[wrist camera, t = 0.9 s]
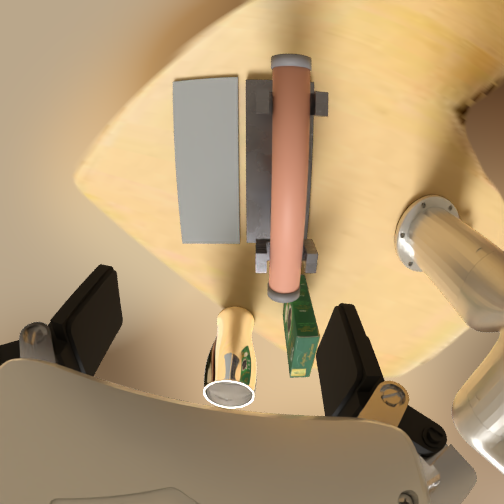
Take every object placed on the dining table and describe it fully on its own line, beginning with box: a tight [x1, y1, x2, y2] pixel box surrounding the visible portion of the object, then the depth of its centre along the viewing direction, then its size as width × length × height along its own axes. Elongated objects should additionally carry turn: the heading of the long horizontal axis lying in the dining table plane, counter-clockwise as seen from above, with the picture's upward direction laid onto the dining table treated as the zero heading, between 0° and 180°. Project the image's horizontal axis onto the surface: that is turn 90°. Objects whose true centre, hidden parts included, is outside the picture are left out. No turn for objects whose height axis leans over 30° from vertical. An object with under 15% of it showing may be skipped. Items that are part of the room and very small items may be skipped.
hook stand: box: [246, 80, 328, 273], centre depth 28 cm, size 8×21×13 cm, turn 0°
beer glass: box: [203, 307, 257, 408], centre depth 39 cm, size 7×7×15 cm
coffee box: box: [283, 274, 320, 378], centre depth 37 cm, size 8×3×13 cm, turn 179°
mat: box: [173, 77, 240, 244], centre depth 34 cm, size 8×22×1 cm, turn 0°
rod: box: [268, 54, 311, 303], centre depth 23 cm, size 22×3×3 cm, turn 0°
